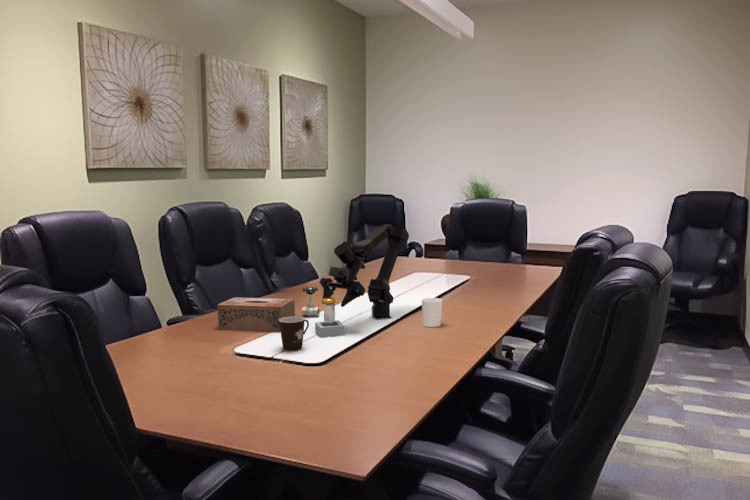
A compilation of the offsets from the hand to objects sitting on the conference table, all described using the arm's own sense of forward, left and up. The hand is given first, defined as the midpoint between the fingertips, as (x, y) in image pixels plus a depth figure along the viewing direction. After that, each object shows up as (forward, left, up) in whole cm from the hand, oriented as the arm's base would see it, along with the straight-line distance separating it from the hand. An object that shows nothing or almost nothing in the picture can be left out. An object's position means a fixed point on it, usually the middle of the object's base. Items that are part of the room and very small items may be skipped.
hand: (332, 304), depth 223 cm
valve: (+2, -29, -11) cm, 31 cm away
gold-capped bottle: (+1, +1, -10) cm, 11 cm away
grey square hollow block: (+1, +1, -10) cm, 11 cm away
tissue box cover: (+25, -20, -11) cm, 34 cm away
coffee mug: (+16, +16, -11) cm, 25 cm away
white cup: (-39, +3, -11) cm, 40 cm away
